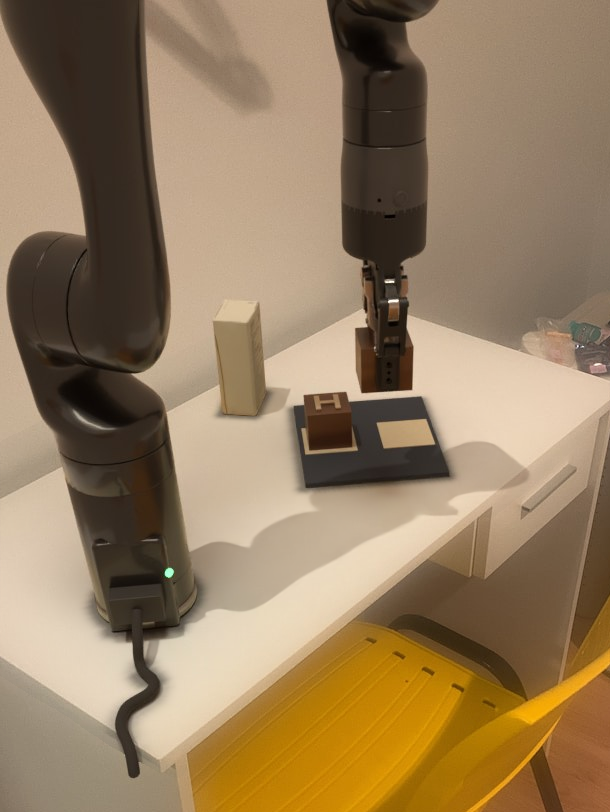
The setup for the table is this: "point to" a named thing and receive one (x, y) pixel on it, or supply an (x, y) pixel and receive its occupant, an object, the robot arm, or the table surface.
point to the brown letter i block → (368, 361)
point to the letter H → (328, 420)
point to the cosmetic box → (240, 356)
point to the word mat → (376, 446)
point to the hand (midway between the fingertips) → (383, 376)
